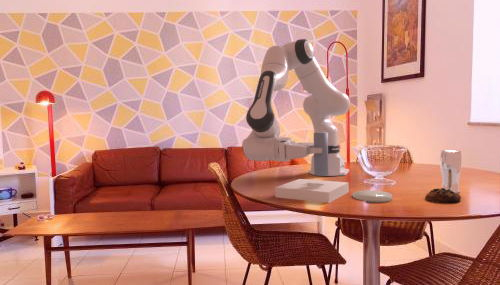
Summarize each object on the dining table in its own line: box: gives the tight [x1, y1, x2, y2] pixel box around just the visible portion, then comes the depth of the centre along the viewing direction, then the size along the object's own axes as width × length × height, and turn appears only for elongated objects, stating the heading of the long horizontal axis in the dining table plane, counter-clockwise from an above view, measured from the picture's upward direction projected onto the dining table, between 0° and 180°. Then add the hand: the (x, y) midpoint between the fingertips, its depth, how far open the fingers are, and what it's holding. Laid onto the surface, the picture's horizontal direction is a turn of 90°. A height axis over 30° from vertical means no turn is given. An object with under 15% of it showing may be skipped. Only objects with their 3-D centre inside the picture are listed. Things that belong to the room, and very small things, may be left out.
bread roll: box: [424, 187, 462, 204], centre depth 136 cm, size 11×11×5 cm
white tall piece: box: [439, 149, 463, 194], centre depth 148 cm, size 7×7×15 cm
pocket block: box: [274, 178, 350, 204], centre depth 147 cm, size 20×20×4 cm
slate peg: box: [313, 132, 328, 177], centre depth 144 cm, size 5×5×15 cm
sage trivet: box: [352, 190, 393, 204], centre depth 140 cm, size 13×13×2 cm
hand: (323, 149), depth 144 cm, fingers closed on slate peg, 5 cm apart
